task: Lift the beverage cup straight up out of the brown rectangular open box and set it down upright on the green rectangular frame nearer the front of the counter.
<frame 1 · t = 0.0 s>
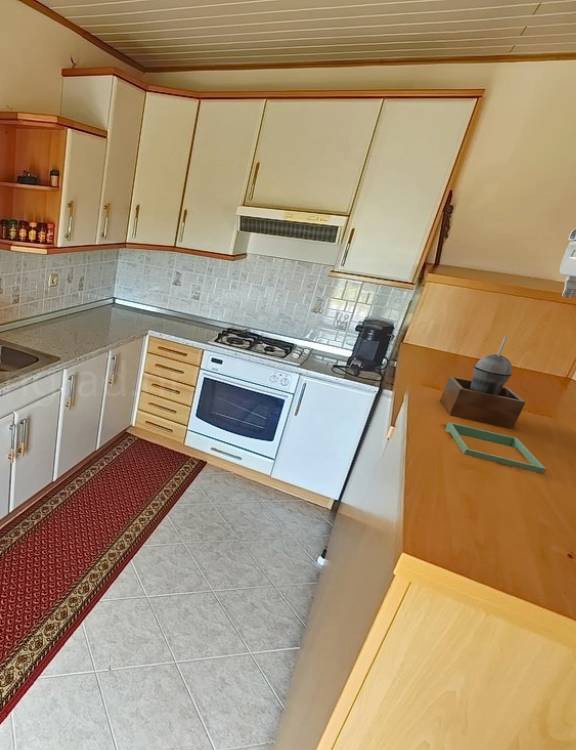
green rectangular frame: (487, 454, 100), on the worktop
brown rectangular open box: (474, 413, 124), on the worktop
beverage cup: (473, 414, 124), resting in brown rectangular open box
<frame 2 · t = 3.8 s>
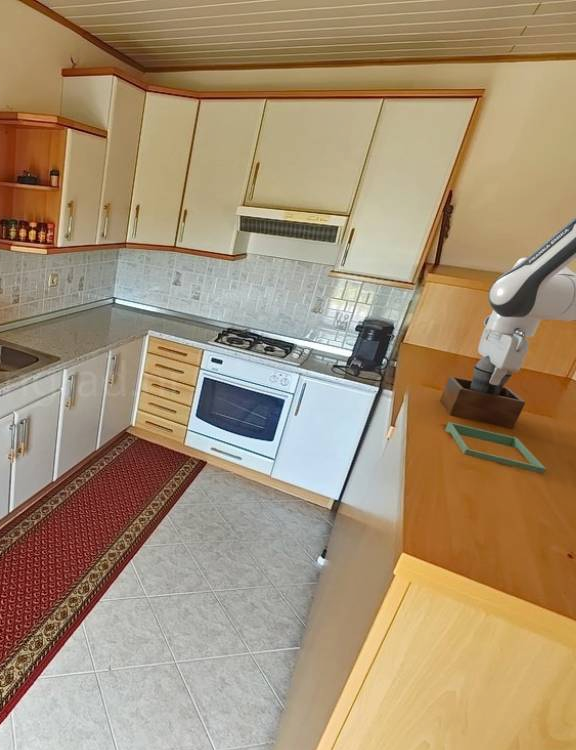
hand: (488, 379, 121), 9 cm above the worktop, tool pointing down, fingers closed on beverage cup, 6 cm apart
beverage cup: (473, 414, 124), resting in brown rectangular open box, touching gripper
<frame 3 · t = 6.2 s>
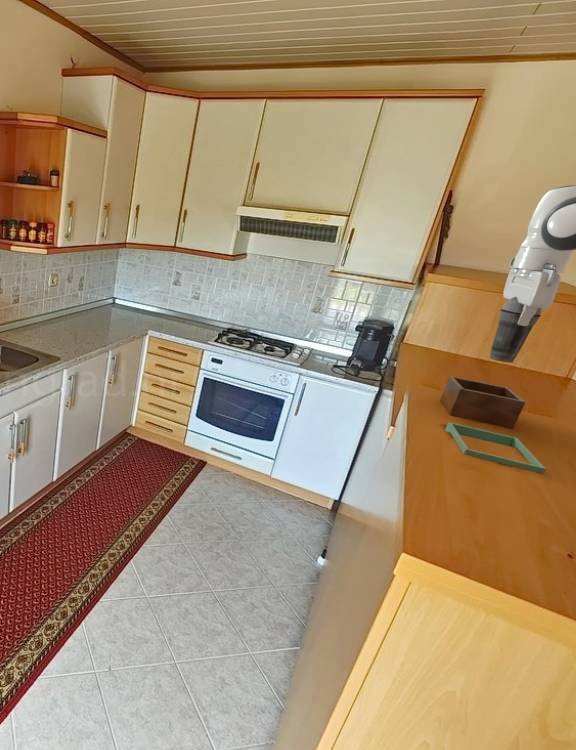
hand: (515, 322, 115), 24 cm above the worktop, tool pointing down, fingers closed on beverage cup, 6 cm apart
beverage cup: (500, 360, 118), point 15 cm above the worktop, touching gripper
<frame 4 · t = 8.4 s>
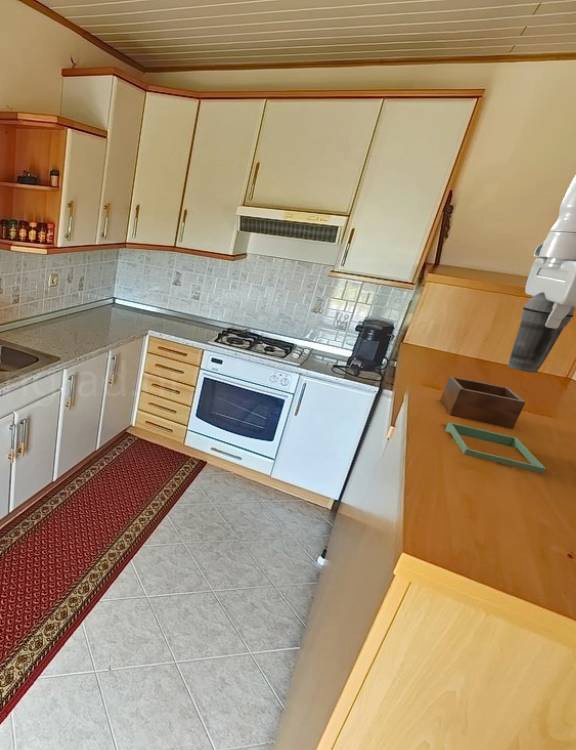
hand: (541, 324, 94), 27 cm above the worktop, tool pointing down, fingers closed on beverage cup, 6 cm apart
beverage cup: (521, 369, 97), point 17 cm above the worktop, touching gripper
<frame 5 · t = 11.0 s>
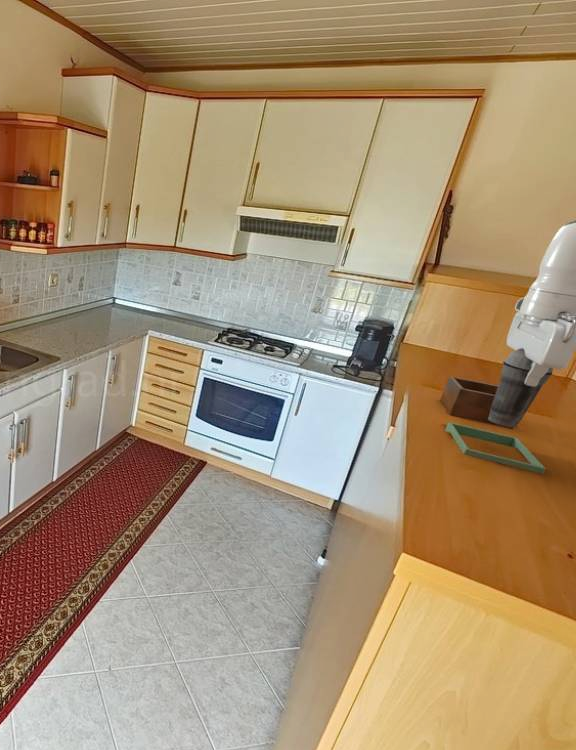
hand: (521, 379, 94), 16 cm above the worktop, tool pointing down, fingers closed on beverage cup, 6 cm apart
beverage cup: (501, 423, 98), point 7 cm above the worktop, touching gripper
when the fingers open (10 cm above the worktop, at t = 13.1 s): beverage cup stays where it is, resting on green rectangular frame.
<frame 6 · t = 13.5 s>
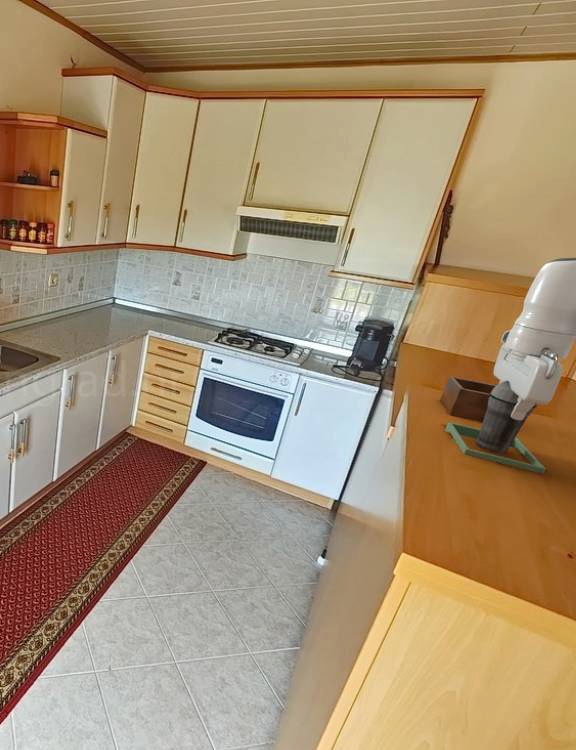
hand: (507, 410, 97), 10 cm above the worktop, tool pointing down, fingers open, 8 cm apart
beverage cup: (488, 452, 100), resting on green rectangular frame
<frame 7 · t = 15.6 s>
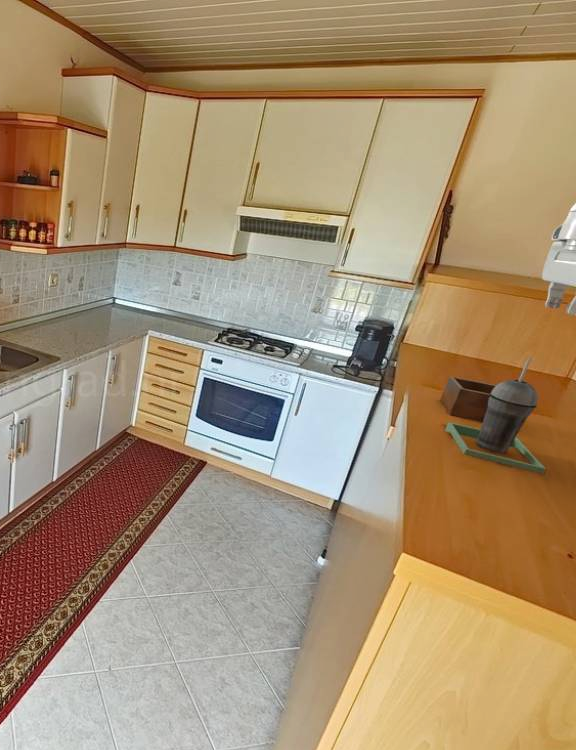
hand: (561, 311, 89), 30 cm above the worktop, tool pointing down, fingers open, 8 cm apart
nothing on the worktop moved.
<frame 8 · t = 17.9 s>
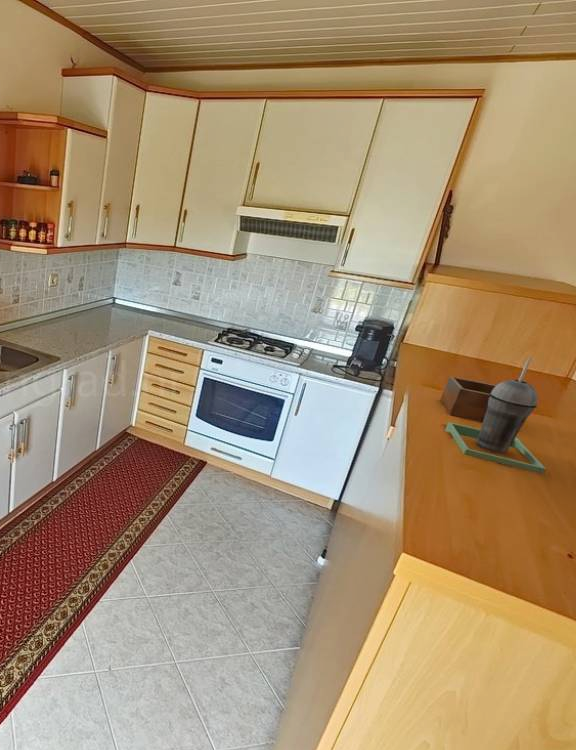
nothing on the worktop moved.
at the end: beverage cup inside the target area in the green rectangular frame (0.1 cm from its centre), point 0.3 cm above the green rectangular frame's base; beverage cup tilted 0°; beverage cup touching green rectangular frame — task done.
